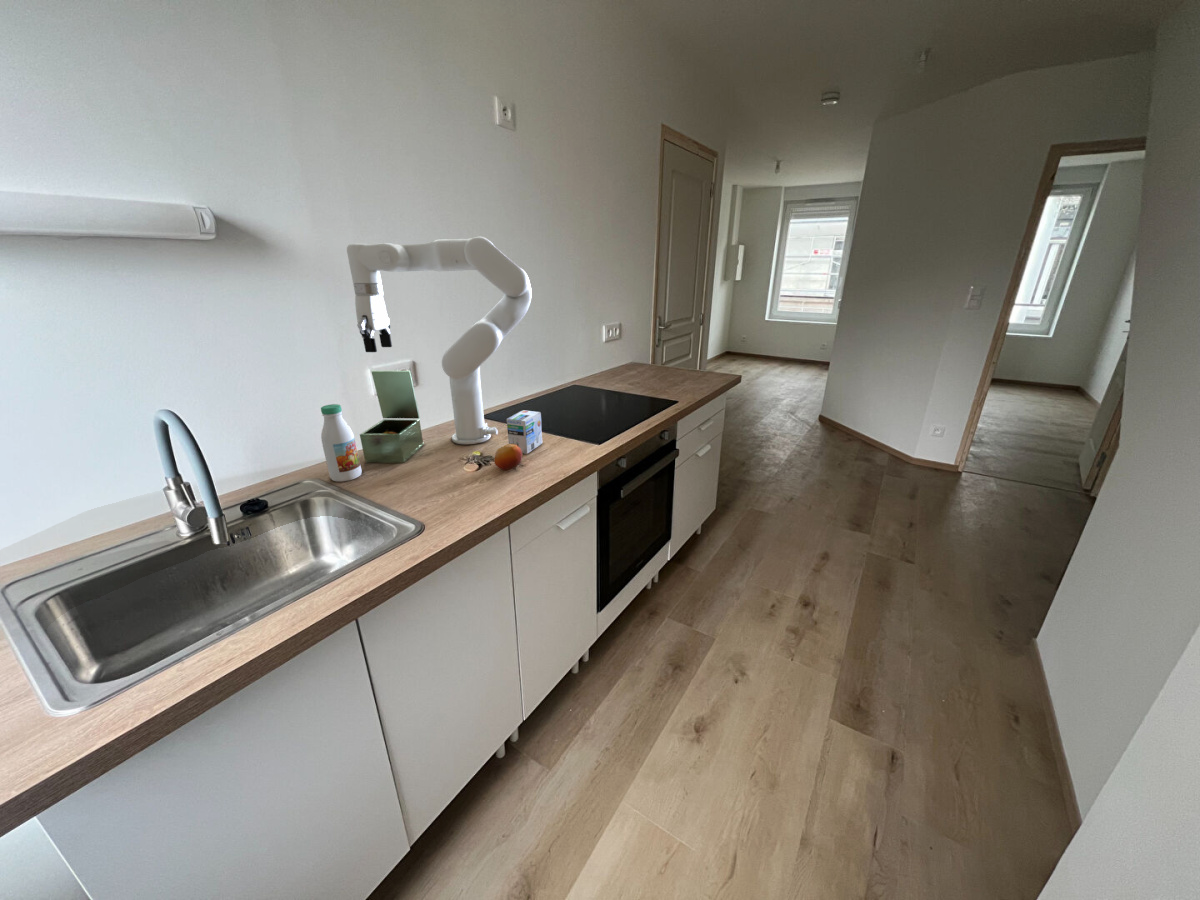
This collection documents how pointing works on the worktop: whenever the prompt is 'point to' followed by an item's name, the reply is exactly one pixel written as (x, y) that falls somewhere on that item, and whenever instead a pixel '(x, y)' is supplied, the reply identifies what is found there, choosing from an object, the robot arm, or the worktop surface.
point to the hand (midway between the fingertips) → (379, 349)
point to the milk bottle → (339, 445)
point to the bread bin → (392, 441)
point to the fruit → (508, 457)
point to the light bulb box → (525, 430)
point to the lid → (396, 394)
